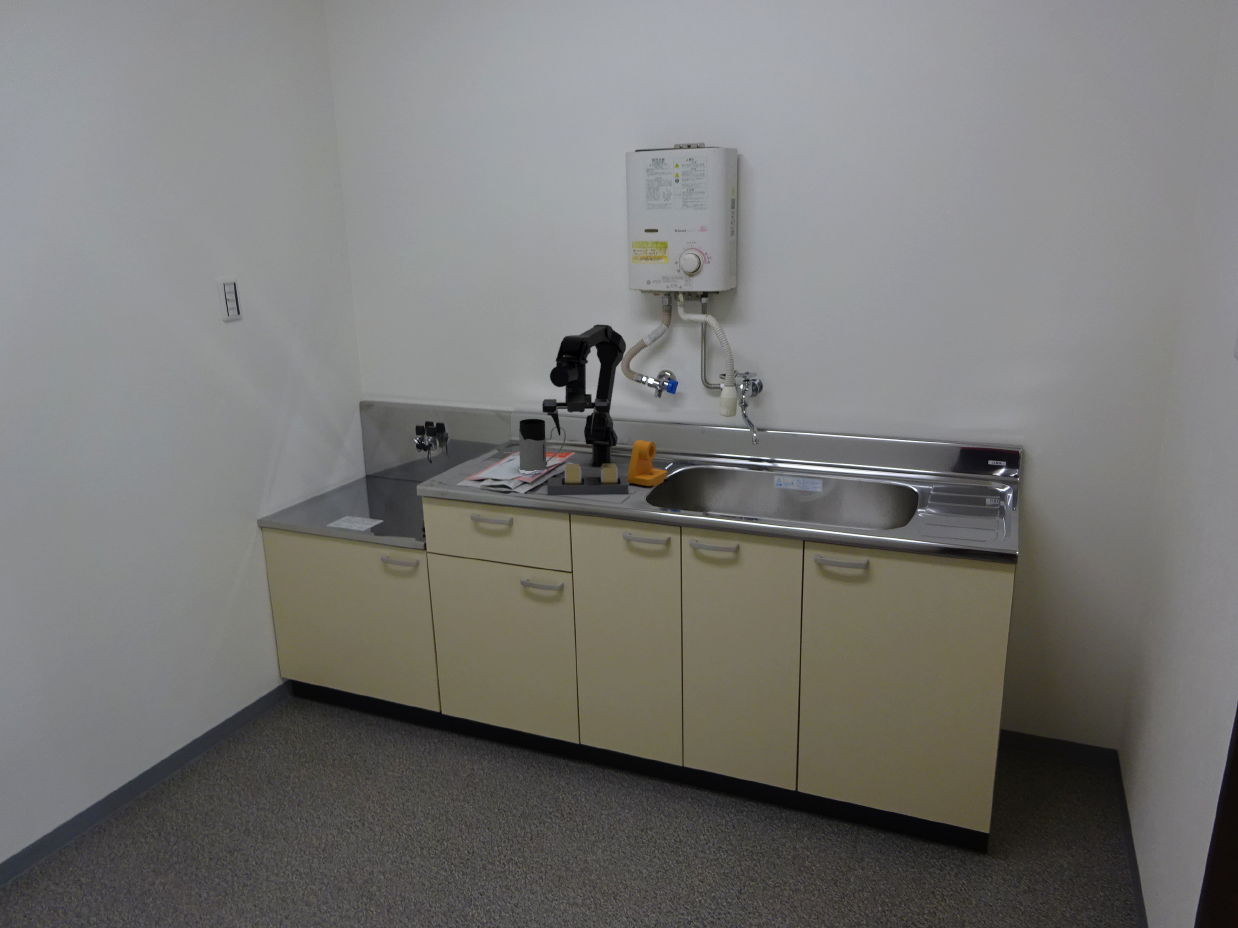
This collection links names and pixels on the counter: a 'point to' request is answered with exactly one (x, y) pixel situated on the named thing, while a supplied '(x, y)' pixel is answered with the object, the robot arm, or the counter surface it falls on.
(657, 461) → the counter surface
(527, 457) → the glass holder
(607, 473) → the tan-capped ribbed block
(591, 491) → the tray
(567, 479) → the gold metal block
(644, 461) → the bracket
